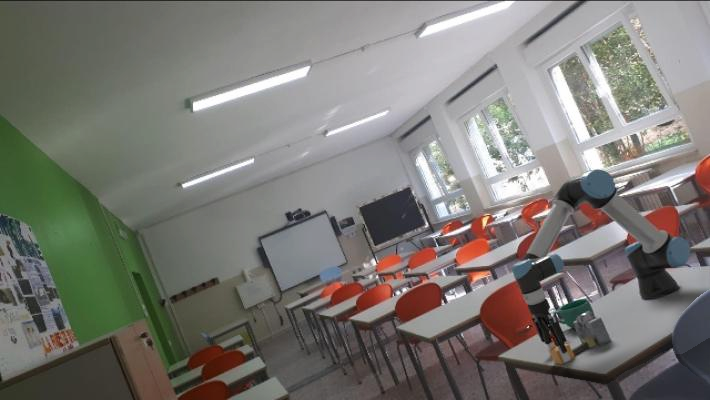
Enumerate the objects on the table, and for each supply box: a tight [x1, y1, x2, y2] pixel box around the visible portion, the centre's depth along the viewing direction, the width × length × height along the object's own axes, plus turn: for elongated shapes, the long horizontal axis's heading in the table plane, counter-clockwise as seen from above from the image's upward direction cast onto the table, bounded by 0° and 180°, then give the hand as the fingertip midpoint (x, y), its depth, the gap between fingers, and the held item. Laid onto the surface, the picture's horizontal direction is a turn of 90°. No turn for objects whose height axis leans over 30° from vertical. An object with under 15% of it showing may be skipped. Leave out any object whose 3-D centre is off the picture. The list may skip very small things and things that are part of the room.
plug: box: [548, 337, 597, 365], centre depth 213 cm, size 16×4×5 cm, turn 106°
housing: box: [572, 311, 612, 347], centre depth 216 cm, size 5×11×12 cm, turn 16°
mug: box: [552, 298, 595, 329], centre depth 245 cm, size 17×13×10 cm
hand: (562, 360), depth 211 cm, fingers open, 6 cm apart
